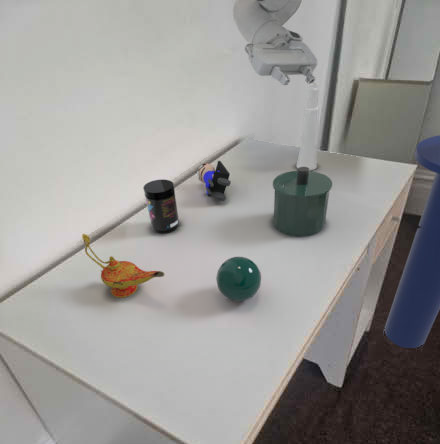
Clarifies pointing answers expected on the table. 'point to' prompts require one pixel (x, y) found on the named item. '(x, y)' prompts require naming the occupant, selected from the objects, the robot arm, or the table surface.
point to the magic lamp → (121, 274)
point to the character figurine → (214, 180)
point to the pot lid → (302, 183)
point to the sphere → (238, 279)
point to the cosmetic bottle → (310, 130)
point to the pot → (300, 214)
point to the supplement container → (162, 205)
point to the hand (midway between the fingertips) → (299, 82)
